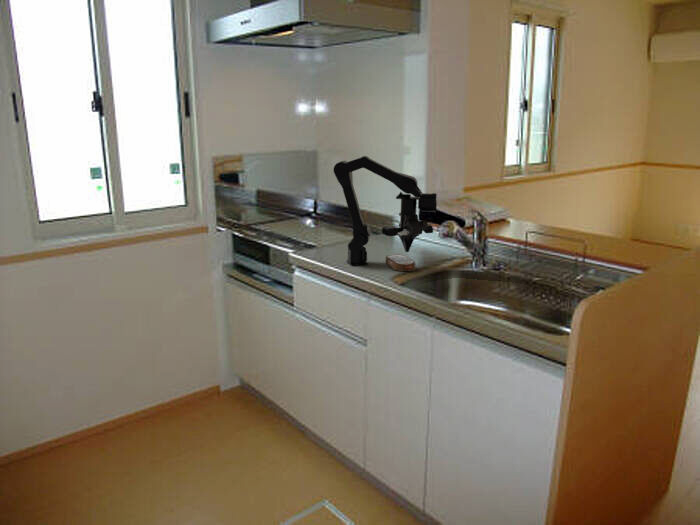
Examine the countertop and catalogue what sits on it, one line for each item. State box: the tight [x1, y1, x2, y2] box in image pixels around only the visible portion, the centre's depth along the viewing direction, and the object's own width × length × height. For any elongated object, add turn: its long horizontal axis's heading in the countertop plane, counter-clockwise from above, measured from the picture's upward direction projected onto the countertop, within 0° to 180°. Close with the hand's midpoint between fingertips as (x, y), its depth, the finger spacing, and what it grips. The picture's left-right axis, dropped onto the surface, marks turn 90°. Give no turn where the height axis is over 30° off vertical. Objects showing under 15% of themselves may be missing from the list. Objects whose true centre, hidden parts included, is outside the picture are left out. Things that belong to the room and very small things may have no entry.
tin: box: [384, 254, 416, 272], centre depth 205 cm, size 15×3×8 cm
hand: (406, 251), depth 205 cm, fingers closed
